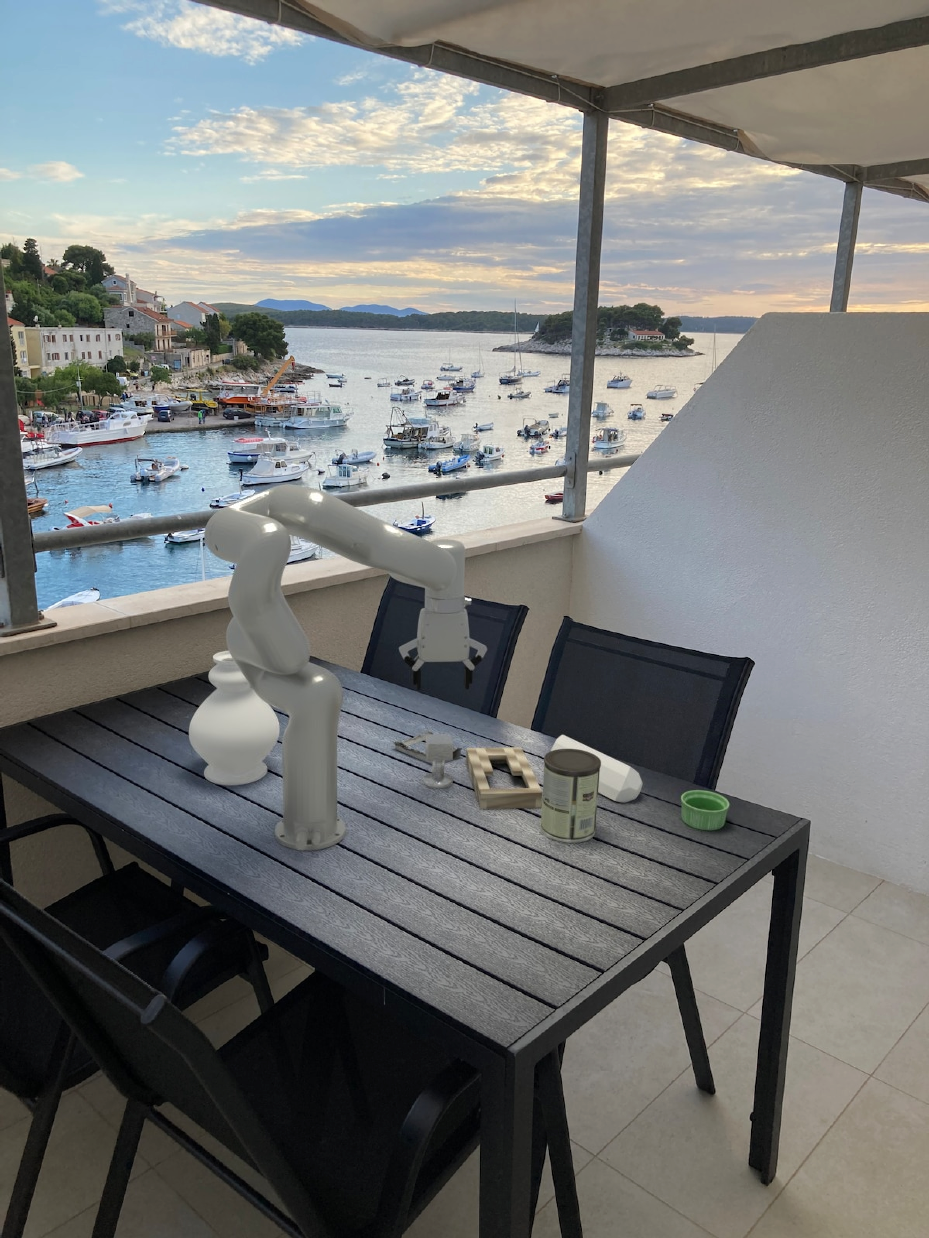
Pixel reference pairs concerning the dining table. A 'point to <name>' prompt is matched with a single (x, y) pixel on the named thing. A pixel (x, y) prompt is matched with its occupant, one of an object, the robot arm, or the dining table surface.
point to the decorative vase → (233, 727)
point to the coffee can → (570, 795)
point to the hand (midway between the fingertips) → (442, 687)
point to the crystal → (608, 773)
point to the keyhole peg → (438, 760)
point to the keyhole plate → (518, 764)
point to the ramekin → (704, 809)
